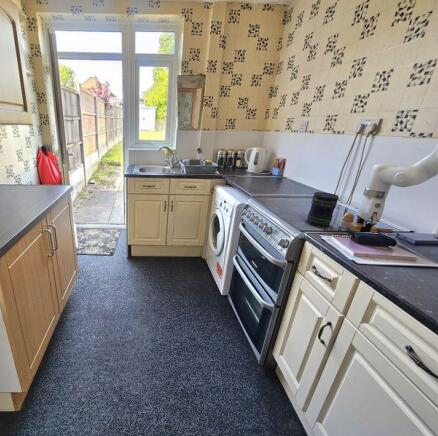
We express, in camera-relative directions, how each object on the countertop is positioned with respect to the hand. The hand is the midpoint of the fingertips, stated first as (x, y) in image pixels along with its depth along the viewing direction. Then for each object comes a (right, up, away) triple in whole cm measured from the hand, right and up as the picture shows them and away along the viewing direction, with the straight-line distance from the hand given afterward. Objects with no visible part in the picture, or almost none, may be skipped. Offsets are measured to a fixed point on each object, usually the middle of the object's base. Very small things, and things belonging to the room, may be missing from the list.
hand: (360, 232), depth 111 cm
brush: (+3, -1, -1) cm, 3 cm away
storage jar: (-12, +3, +11) cm, 17 cm away
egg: (0, +2, +8) cm, 9 cm away
